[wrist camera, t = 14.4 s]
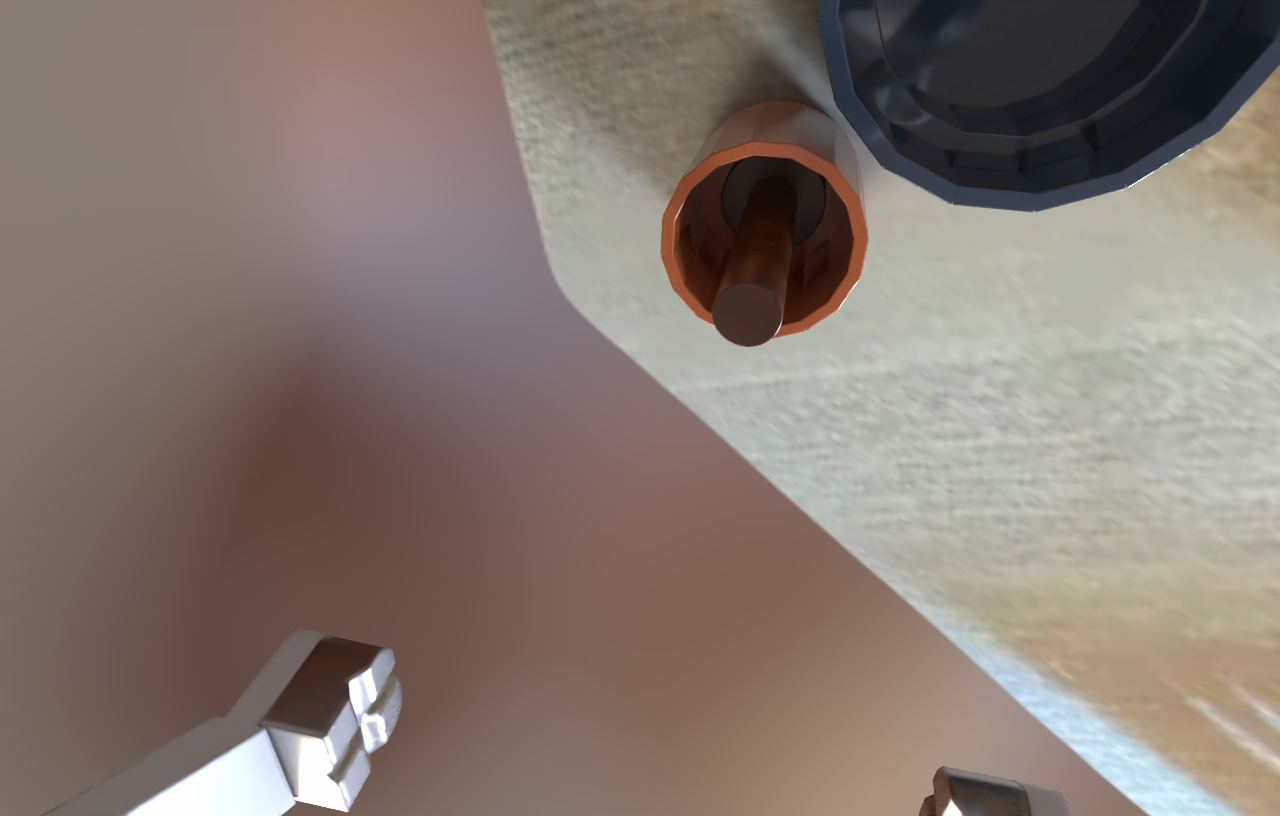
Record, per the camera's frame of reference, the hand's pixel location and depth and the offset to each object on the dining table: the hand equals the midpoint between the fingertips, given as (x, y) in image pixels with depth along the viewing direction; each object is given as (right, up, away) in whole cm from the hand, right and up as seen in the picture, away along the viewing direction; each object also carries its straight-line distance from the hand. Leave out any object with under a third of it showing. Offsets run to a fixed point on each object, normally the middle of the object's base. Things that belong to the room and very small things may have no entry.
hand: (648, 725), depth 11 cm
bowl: (+14, +21, +17) cm, 31 cm away
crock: (+6, +15, +23) cm, 28 cm away
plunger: (+6, +14, +23) cm, 28 cm away
